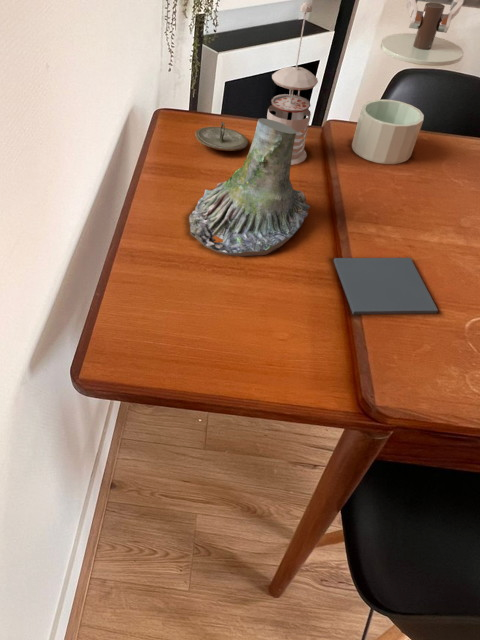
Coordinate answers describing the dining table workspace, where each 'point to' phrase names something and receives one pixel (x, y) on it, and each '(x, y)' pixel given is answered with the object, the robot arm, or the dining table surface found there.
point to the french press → (294, 99)
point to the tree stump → (254, 199)
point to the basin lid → (423, 42)
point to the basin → (387, 131)
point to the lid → (221, 138)
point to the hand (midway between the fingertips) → (428, 28)
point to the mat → (384, 286)
